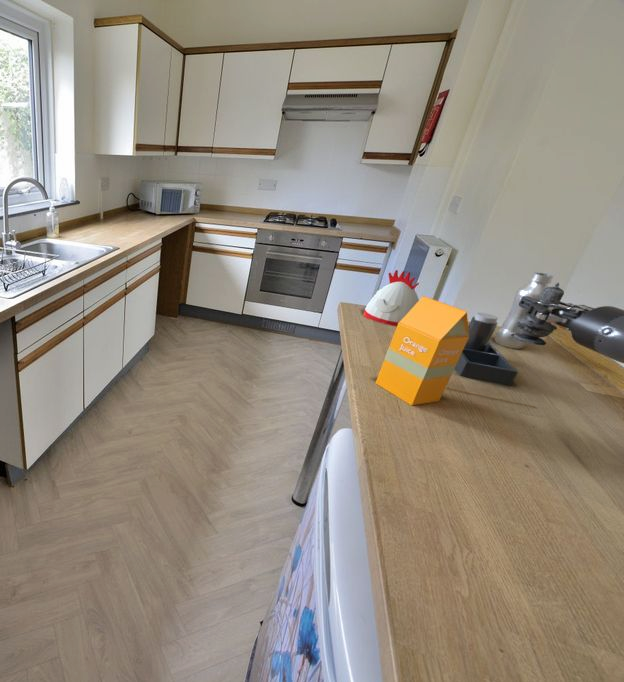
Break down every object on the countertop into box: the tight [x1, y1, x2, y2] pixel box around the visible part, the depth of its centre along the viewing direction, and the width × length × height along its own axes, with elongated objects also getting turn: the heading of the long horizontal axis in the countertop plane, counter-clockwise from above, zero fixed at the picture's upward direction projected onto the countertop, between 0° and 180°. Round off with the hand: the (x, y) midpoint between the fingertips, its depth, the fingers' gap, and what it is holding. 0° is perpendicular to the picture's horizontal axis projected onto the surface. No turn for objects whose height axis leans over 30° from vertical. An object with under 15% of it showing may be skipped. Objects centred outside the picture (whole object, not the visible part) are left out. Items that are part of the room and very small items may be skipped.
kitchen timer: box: [363, 269, 420, 327], centre depth 122 cm, size 14×14×15 cm
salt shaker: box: [511, 282, 565, 346], centre depth 80 cm, size 6×6×12 cm
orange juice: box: [375, 295, 469, 406], centre depth 82 cm, size 8×9×20 cm
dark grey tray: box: [454, 341, 519, 387], centre depth 98 cm, size 9×17×4 cm, turn 156°
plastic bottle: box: [494, 272, 554, 350], centre depth 106 cm, size 6×7×20 cm
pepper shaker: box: [464, 312, 499, 352], centre depth 99 cm, size 5×5×11 cm
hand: (533, 301), depth 82 cm, fingers closed on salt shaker, 3 cm apart
